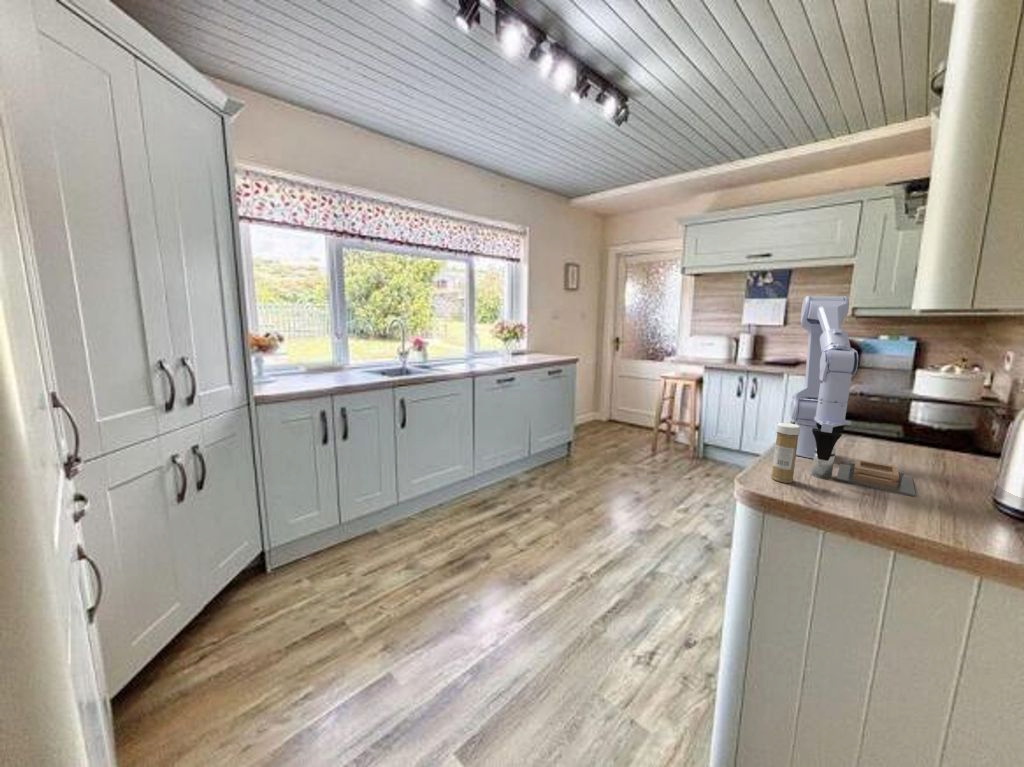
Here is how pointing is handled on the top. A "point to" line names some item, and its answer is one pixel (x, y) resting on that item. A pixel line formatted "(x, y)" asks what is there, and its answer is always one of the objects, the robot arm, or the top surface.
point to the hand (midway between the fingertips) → (824, 455)
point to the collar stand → (876, 477)
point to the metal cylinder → (823, 466)
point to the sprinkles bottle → (785, 452)
